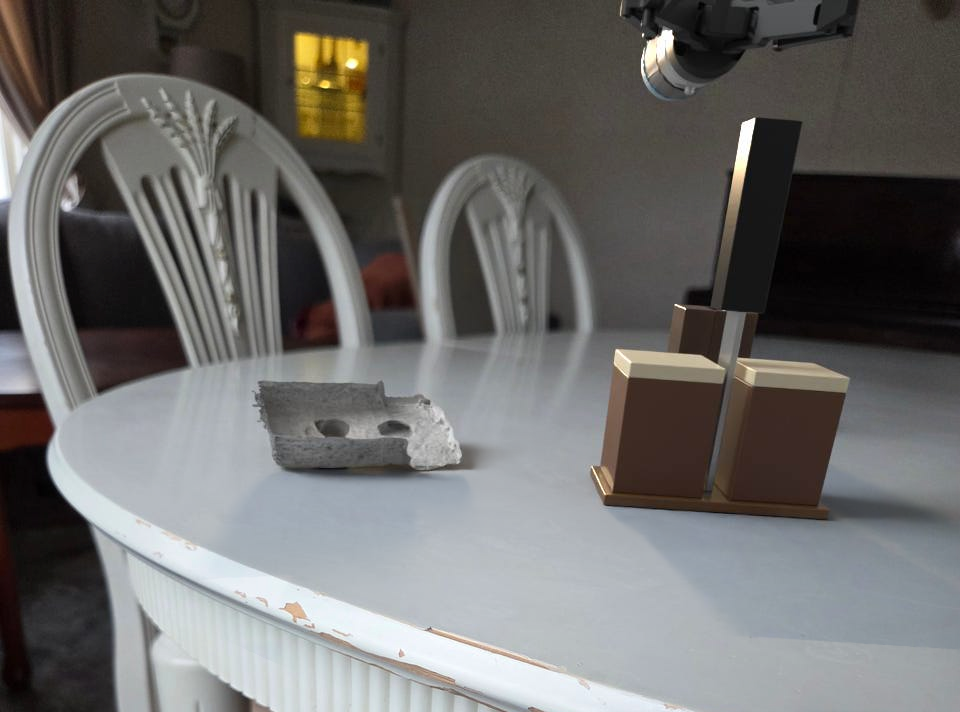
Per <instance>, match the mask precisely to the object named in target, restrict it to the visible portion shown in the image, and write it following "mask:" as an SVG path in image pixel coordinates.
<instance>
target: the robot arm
mask: <svg viewBox="0 0 960 712" xmlns="http://www.w3.org/2000/svg"><path fill="white" fill-rule="evenodd" d="M861 2H862V1H861V0H621V5H620V13H619V16H620V18H622V19H623V20H624V21H625V22H627V23H628V24H629V25H631V26H632V27H633V28H634V29H636V30H637V31H638V32H640V33H641V34H642V37H641V38H642V39H643V40H645V41H646V45H645V46H644V47H643V51H642V52H643V53H642V57H641V63H640V65H641V66H640V68H641V76H642V80H643V82H644V85H645V86H646V88H647V90H648V91H649V92H650V93H651V94H652V95H653V96H654V97H656V98H657V99H660V100H662V101H667V102H676V101H680V100H681V101H683V100H687V99H689V98H691V97H693V96H695V95H696V94H698V92H700V91H701V90H702V89H703V88H705V87H706V86H707V85H709V84H710V83H712V82H714V81H717V80H718V79H720V78H721V77H723V76H724V75H726V74H728V73H729V72H730V71H732V70H733V69H734V68H735V67H736V66H737V64H739V62H740V61H741V59H742V58H743V56H744V55H745V53H746V51H747V50H754V49H761V48H765V47H767V46H768V44H769V43H770V41H772V44H771V46H772V48H771V50H772V51H774V52H776V53H781V52H784V51H787V50H790V49H791V48H796V47H800V46H806V45H812V44H819V43H822V42H823V43H824V42H830V41H833V40H834V41H835V40H841V39H849V38H851V37H854V35H855V30H856V26H857V21H858V17H859V12H860V7H861Z"/></svg>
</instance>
